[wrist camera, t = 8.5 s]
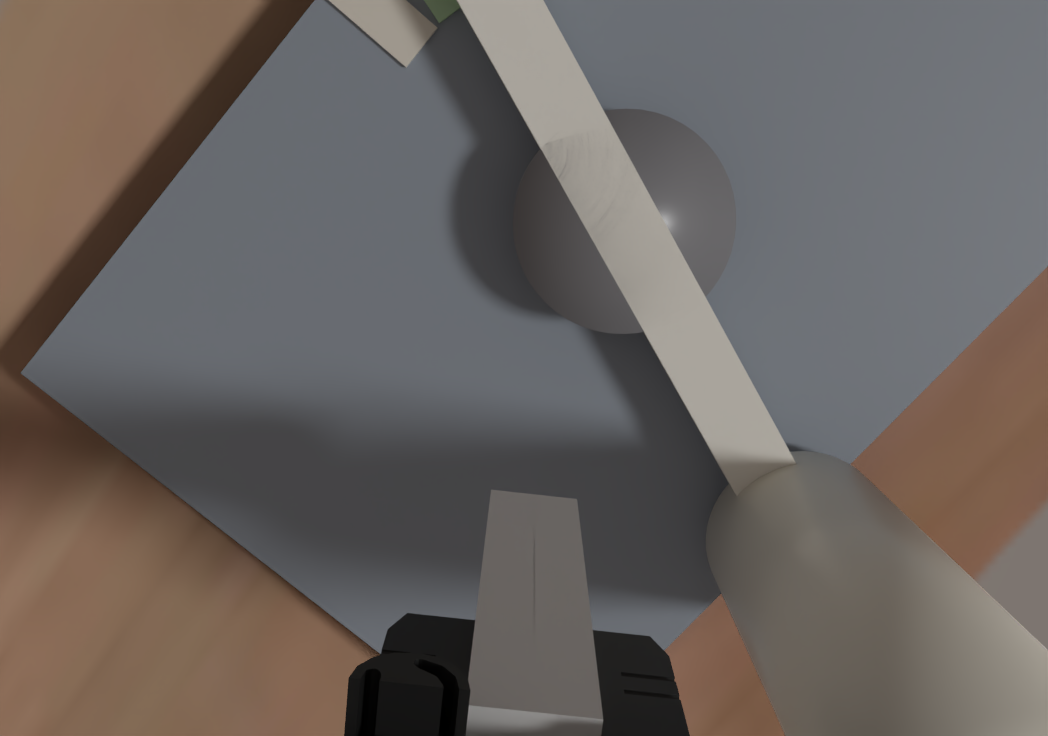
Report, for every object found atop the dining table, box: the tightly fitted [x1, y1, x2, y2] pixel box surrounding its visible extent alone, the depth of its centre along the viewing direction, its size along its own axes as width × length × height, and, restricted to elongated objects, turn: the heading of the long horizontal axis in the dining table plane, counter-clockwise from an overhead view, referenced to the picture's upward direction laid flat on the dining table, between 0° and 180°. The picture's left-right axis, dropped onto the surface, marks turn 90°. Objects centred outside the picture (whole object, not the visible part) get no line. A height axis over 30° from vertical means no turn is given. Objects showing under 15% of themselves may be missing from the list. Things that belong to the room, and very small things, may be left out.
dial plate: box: [21, 0, 1048, 654], centre depth 21 cm, size 22×15×1 cm
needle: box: [456, 0, 1048, 736], centre depth 15 cm, size 19×4×10 cm, turn 30°
